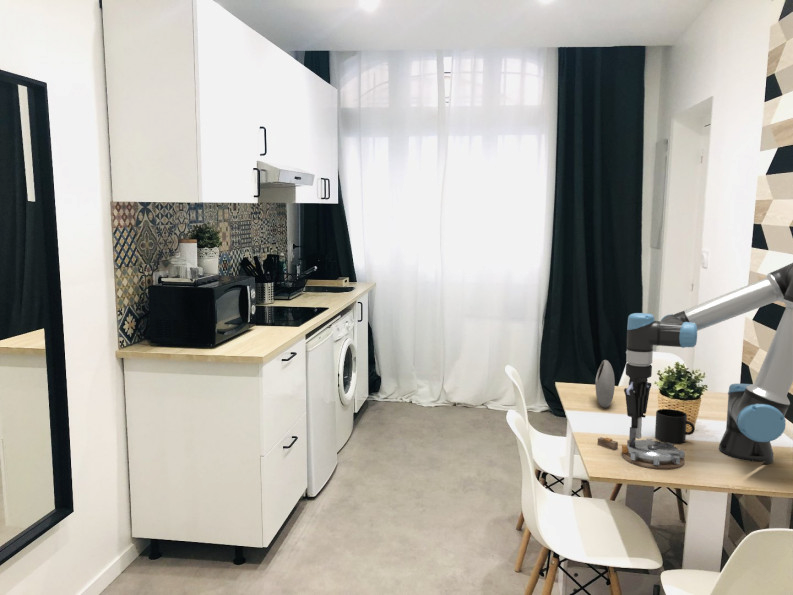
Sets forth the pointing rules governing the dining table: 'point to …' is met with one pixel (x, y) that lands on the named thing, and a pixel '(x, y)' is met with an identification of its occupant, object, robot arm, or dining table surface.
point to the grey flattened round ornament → (605, 384)
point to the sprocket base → (650, 465)
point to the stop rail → (608, 443)
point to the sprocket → (651, 450)
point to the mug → (671, 426)
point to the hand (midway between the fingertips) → (635, 437)
